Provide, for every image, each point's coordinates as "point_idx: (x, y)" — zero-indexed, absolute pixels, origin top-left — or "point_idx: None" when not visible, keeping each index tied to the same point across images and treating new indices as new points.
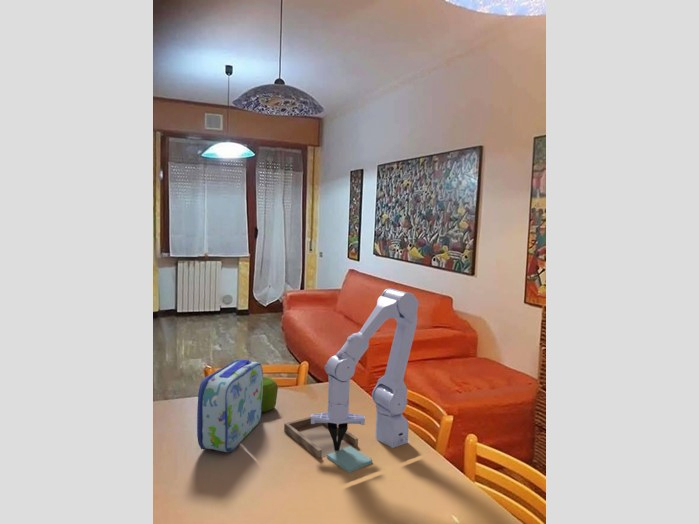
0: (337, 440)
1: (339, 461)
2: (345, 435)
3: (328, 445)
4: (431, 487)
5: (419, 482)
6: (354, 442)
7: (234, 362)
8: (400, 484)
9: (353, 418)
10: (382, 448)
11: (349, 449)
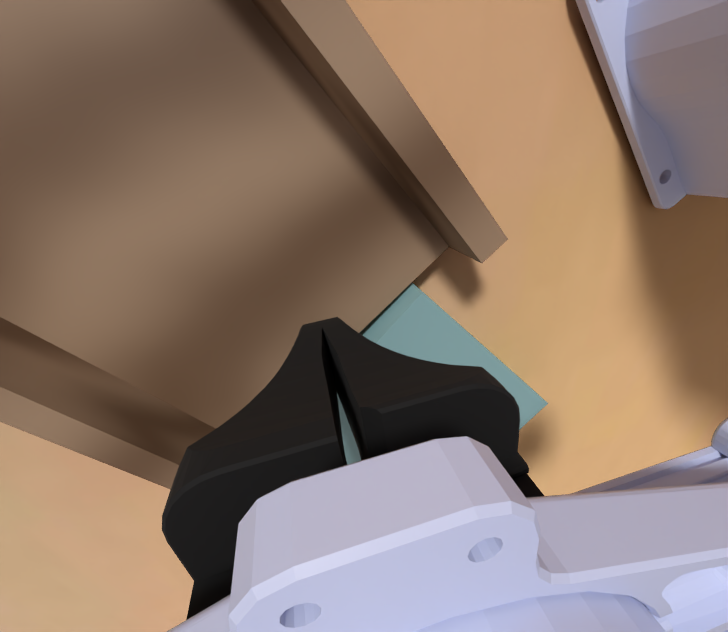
0: (333, 362)
1: None
2: (373, 134)
3: (234, 280)
4: (696, 441)
5: (672, 429)
6: (460, 248)
7: None
8: (605, 462)
9: (697, 594)
10: (622, 174)
11: (420, 338)
